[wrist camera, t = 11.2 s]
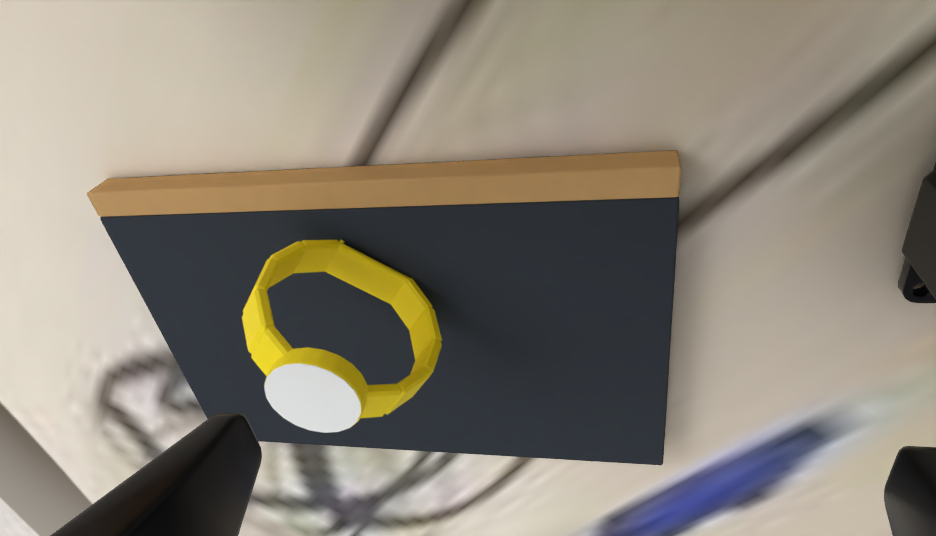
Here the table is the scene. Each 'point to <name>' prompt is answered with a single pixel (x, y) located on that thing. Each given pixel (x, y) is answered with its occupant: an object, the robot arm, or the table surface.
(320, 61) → the table surface
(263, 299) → the watch
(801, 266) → the table surface
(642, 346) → the dark rectangular board
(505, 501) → the table surface
